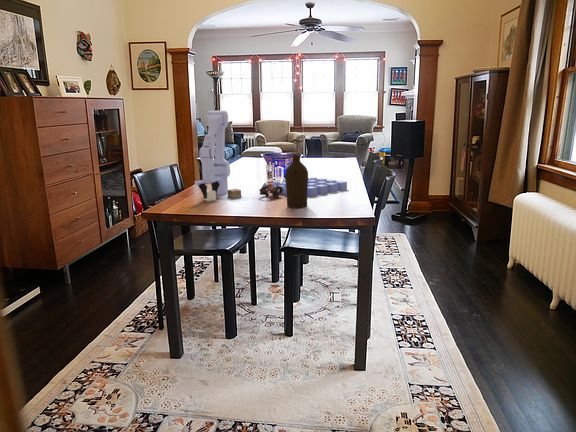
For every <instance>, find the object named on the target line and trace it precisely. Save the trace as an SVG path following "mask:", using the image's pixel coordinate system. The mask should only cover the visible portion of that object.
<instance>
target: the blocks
mask: <svg viewBox="0 0 576 432" xmlns="http://www.w3.org/2000/svg"><path fill="white" fill-rule="evenodd" d="M271 184H272V185H273V187H277V186H281V187H282V188H283V191H282V193H281V194H280V195H284V197H287V193H286V180H285V178H284V179H283V180H282V182H280V181H279V180H274V181H272V183H271ZM267 185H268V183H266V182H264V183H263V185H262V186H261V188H263V187H265V186H267ZM279 191H280V189H278V192H279ZM338 191H339V192H342V191H343V192H344V191H348V182H347V181H345V180H338V181H337V180H336V179H327V178H324V177H323V178H318V177H316V176H315V177H314V176H312V177H310V178H309V177H308V190H307V197H310V198H311V197H317V196H318V195H321V196H323V195H326V194H328V193H332V194H333V193H337V192H338ZM280 195H279V196H280Z"/></svg>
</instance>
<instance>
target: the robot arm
mask: <svg viewBox="0 0 576 432" xmlns="http://www.w3.org/2000/svg"><path fill="white" fill-rule="evenodd" d="M206 119H207V123H208V128H207V134H205V136H204V137H203V138H204V139H203V143H202V146H201V147H199V151H198V156H199V158H200V162H201V170H202V171H201V172H202V179H200V180H194V185H195V186H197V187H198V188H199V189H200V191H201V193H202V196H203V199H204V198H205V199H207V190H208V185H209V184H210V186H211V190H214V191H216V196H217V195H218V196H223V195H228V190H229V184H228V183H229V182H228V177H229V176H230V174H231V167H230V166H231V165H230V162H229V161H227V159H225V155H226V154H225V151H226V149H225V148H226V147H225V145H226V140H225V139H226V137H225V136H226V128H227V127H228V126H229V114H228V112H227V110H225V109H224V110H208V111H207V113H206Z"/></svg>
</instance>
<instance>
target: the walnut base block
mask: <svg viewBox="0 0 576 432" xmlns="http://www.w3.org/2000/svg"><path fill="white" fill-rule="evenodd" d="M227 195H228V198H231V199H235V198H241V195H242V190H241V189H238V188H231V189H230V188H229V189H228V194H227Z"/></svg>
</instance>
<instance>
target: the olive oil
mask: <svg viewBox="0 0 576 432" xmlns="http://www.w3.org/2000/svg"><path fill="white" fill-rule="evenodd" d="M284 174H285V175H284V179H285V180H286V193H287V196H286V206H287V208H290V209H303V208H307V207H308V196H307V190H308V178H309V171H308V168H307V167H306V166H305V164H303V163H302V161H301V155H300V152H292V161H291V163H289V165H288V166H287V167H286V169H285V173H284Z"/></svg>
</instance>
